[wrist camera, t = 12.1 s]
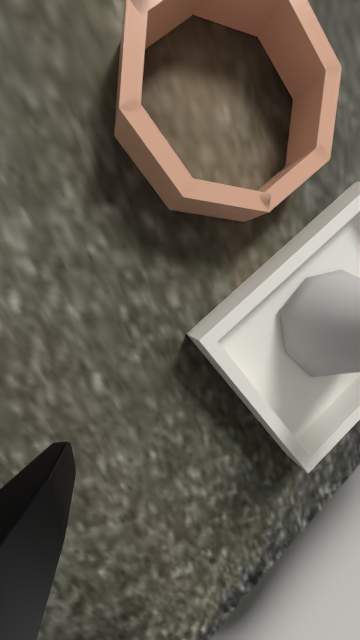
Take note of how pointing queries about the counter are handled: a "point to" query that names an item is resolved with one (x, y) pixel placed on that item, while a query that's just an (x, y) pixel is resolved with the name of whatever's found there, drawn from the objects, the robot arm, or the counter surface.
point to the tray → (268, 341)
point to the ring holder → (293, 68)
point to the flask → (324, 324)
